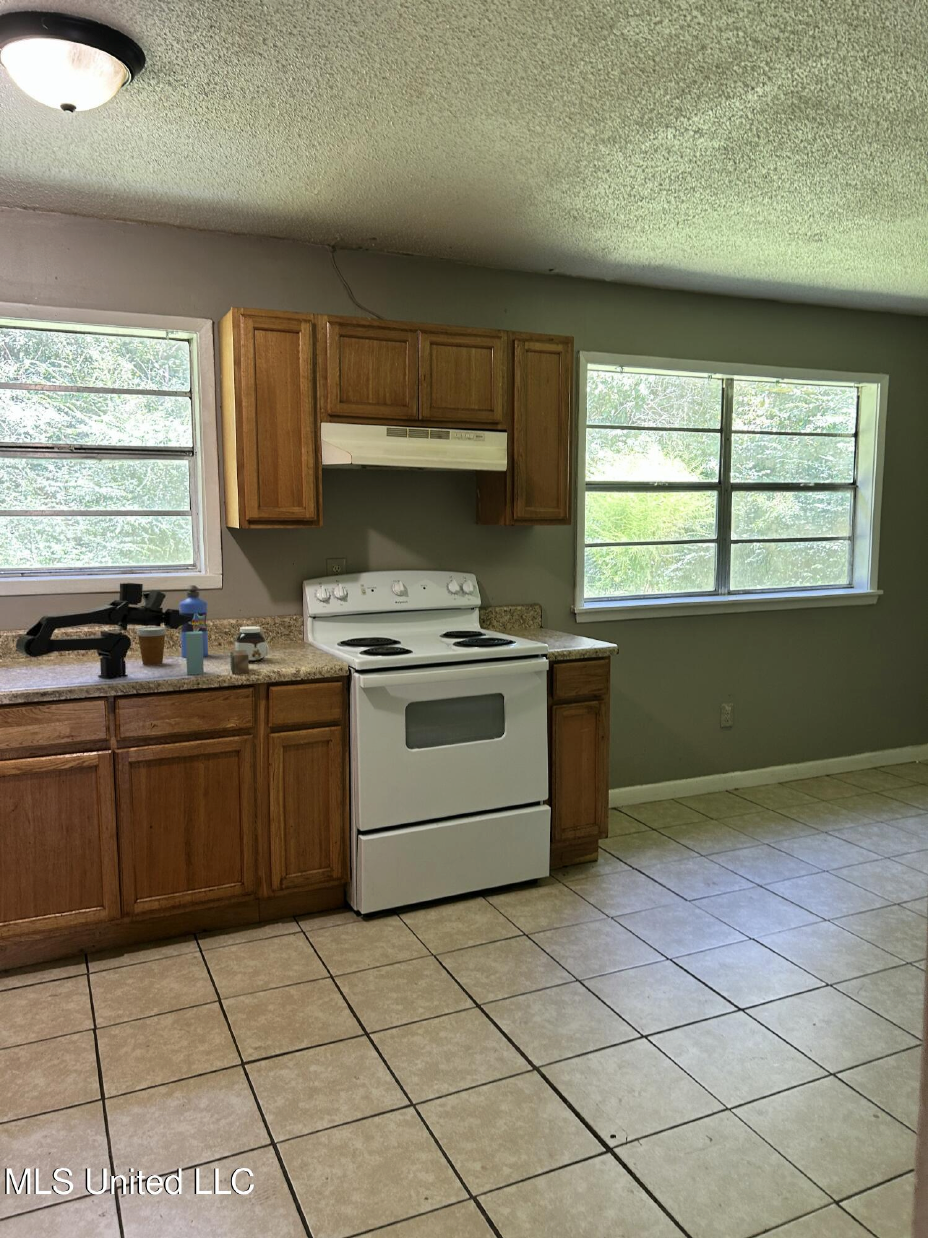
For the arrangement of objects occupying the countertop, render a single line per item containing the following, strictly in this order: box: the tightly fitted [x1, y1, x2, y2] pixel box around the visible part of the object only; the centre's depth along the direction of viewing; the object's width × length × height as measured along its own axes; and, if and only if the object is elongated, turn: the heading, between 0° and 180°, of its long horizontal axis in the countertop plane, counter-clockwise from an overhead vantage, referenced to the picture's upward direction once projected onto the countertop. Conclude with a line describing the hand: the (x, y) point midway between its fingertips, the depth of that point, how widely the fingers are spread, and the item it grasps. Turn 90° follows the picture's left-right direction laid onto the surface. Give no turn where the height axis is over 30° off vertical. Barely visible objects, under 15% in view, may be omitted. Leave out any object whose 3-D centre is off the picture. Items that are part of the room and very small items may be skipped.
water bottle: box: [179, 585, 209, 659], centre depth 325 cm, size 9×9×25 cm
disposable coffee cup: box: [136, 626, 168, 666], centre depth 309 cm, size 10×10×12 cm
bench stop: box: [230, 650, 250, 675], centre depth 296 cm, size 5×10×6 cm, turn 17°
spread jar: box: [234, 625, 270, 664], centre depth 317 cm, size 12×11×12 cm
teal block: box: [185, 631, 205, 676], centre depth 292 cm, size 5×5×13 cm
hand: (184, 618), depth 301 cm, fingers open, 9 cm apart
